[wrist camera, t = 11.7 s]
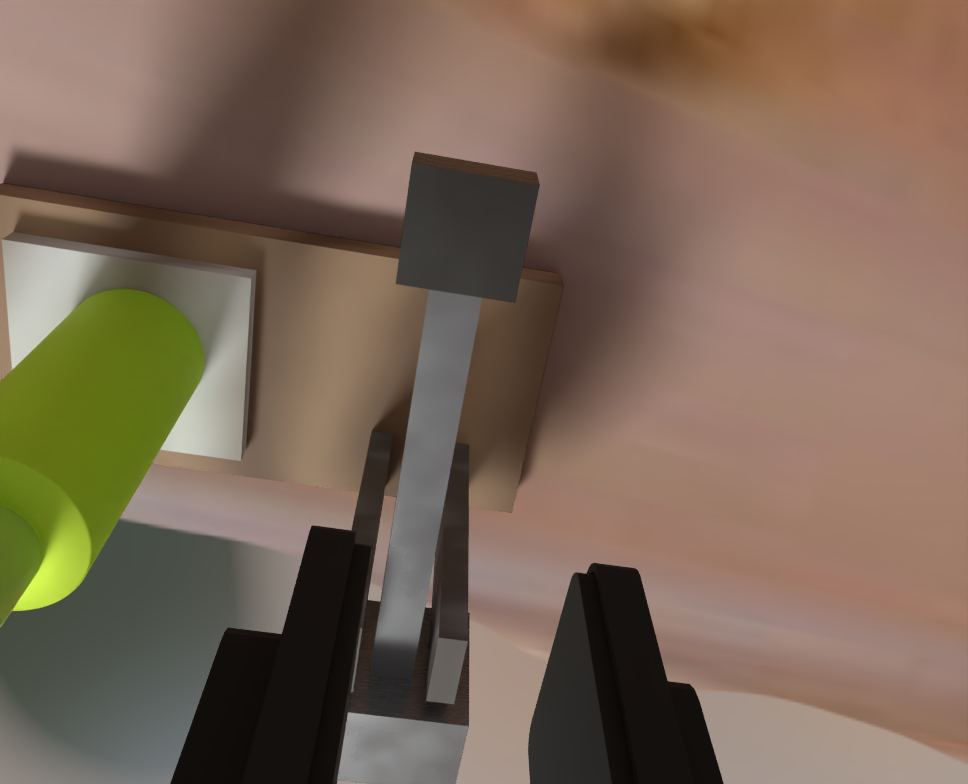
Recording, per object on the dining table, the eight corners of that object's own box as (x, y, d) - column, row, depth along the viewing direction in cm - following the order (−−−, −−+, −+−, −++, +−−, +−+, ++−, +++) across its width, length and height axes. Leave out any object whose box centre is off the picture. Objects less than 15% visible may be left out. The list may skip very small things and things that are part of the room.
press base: (560, 273, 40) (603, 440, 27) (510, 495, 45) (525, 723, 32) (2, 183, 37) (-245, 316, 25) (20, 427, 43) (-173, 641, 30)
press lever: (567, 157, 29) (588, 209, 23) (455, 675, 39) (453, 792, 34) (382, 125, 28) (361, 171, 23) (319, 658, 39) (294, 775, 33)
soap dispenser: (202, 272, 37) (-47, 593, 19) (206, 418, 40) (-4, 810, 22) (55, 256, 36) (-338, 570, 19) (71, 405, 39) (-252, 794, 22)
